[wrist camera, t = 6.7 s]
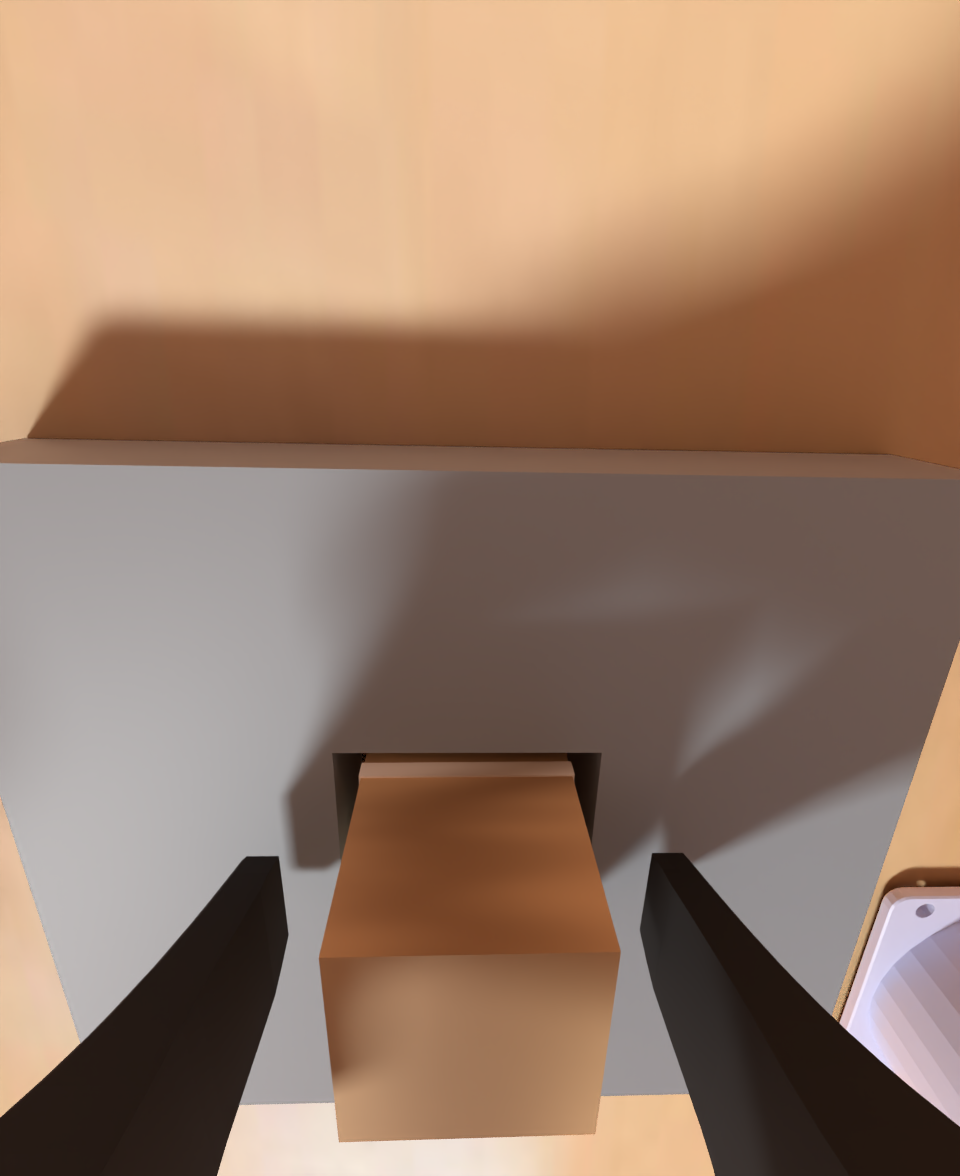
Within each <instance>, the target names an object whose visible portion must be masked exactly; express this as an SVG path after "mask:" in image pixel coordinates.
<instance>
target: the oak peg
mask: <svg viewBox="0 0 960 1176" xmlns="http://www.w3.org/2000/svg"><path fill="white" fill-rule="evenodd" d="M574 777H575V774H574V770H573V767H572V763H571V761H568V758H567V755H566V753H367V754H366V758H365V762H364V763H362V764H361V768H360V772H359V788H358V792H357V796H356V801H355V805H354V809H353V813H352V818H351V822H350V826H349V831H348V835H347V839H346V843H345V848H344V852H343V856H342V860H341V865H340V869H339V873H338V877H337V882H336V886H335V890H334V894H333V899H332V903H331V907H330V912H329V916H328V920H327V924H326V929H325V933H324V937H323V941H322V946H321V950H320V954H319V966H320V975H321V984H322V993H323V1002H324V1011H325V1020H326V1029H327V1038H328V1047H329V1056H330V1065H331V1074H332V1083H333V1092H334V1101H335V1110H336V1119H337V1128H338V1137H339V1142H359V1141H391V1140H423V1139H455V1138H487V1137H519V1136H551V1135H583V1134H595V1132H596V1125H597V1118H598V1111H599V1104H600V1096H601V1089H602V1082H603V1075H604V1068H605V1061H606V1054H607V1047H608V1040H609V1033H610V1026H611V1019H612V1012H613V1005H614V998H615V991H616V984H617V976H618V969H619V962H620V955H621V950H620V947H619V943H618V939H617V936H616V932H615V929H614V925H613V921H612V918H611V914H610V910H609V907H608V903H607V900H606V896H605V892H604V889H603V885H602V881H601V878H600V874H599V871H598V867H597V863H596V860H595V856H594V852H593V849H592V845H591V842H590V838H589V834H588V831H587V827H586V823H585V820H584V816H583V813H582V809H581V805H580V802H579V798H578V794H577V791H576V787H575V784H574Z"/></svg>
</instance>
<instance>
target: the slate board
mask: <svg viewBox="0 0 960 1176" xmlns="http://www.w3.org/2000/svg"><path fill="white" fill-rule="evenodd" d="M959 641H960V469H957V468H953V467H948V466H943V465H939V464H934V463H929V462H924V461H920V460H915V459H910V458H905V457H901V456H896V455H891V454H837V453H783V452H729V451H676V450H622V449H568V448H514V447H461V446H407V445H353V444H299V443H246V442H192V441H138V440H84V439H31V438H24V439H18V440H12V441H6V442H1V443H0V797H1V800H2V803H3V806H4V809H5V812H6V815H7V818H8V821H9V824H10V828H11V831H12V834H13V837H14V840H15V843H16V846H17V849H18V852H19V855H20V858H21V861H22V864H23V868H24V871H25V874H26V877H27V880H28V883H29V886H30V889H31V892H32V895H33V898H34V901H35V904H36V908H37V911H38V914H39V917H40V920H41V923H42V926H43V929H44V932H45V935H46V938H47V941H48V944H49V948H50V951H51V954H52V957H53V960H54V963H55V966H56V969H57V972H58V975H59V978H60V981H61V984H62V988H63V991H64V994H65V997H66V1000H67V1003H68V1006H69V1009H70V1012H71V1015H72V1018H73V1021H74V1024H75V1028H76V1031H77V1034H78V1037H79V1040H80V1043H81V1042H82V1041H83V1040H84V1039H85V1038H86V1037H88V1036H89V1035H90V1034H91V1033H92V1032H93V1031H94V1029H95V1028H96V1027H97V1026H98V1025H99V1024H100V1023H101V1022H102V1021H103V1020H104V1019H105V1018H106V1017H107V1016H108V1015H109V1014H110V1013H111V1012H112V1011H113V1010H114V1009H115V1008H116V1007H117V1006H118V1005H119V1004H120V1003H121V1001H122V1000H123V999H124V998H125V997H126V996H127V995H128V994H129V993H130V992H131V991H132V990H133V989H134V987H135V986H136V985H137V984H138V983H139V982H140V981H141V980H142V979H143V978H144V977H145V976H146V975H147V974H148V972H149V971H150V970H151V969H152V968H153V967H154V966H155V965H156V964H157V962H158V961H159V960H160V959H161V958H162V957H163V956H164V954H165V953H166V952H167V951H168V950H169V949H170V947H171V946H172V945H173V944H174V943H175V942H176V940H177V939H178V938H179V937H180V936H181V935H182V933H183V932H184V931H185V930H186V929H187V928H188V926H189V925H190V924H191V923H192V922H193V921H194V919H195V918H196V917H197V916H198V914H199V913H200V912H201V911H202V910H203V908H204V907H205V906H206V905H207V904H208V902H209V901H210V900H211V899H212V897H213V896H214V895H215V894H216V892H217V891H218V890H219V889H220V887H221V886H222V885H223V884H224V882H225V881H226V880H227V879H228V877H229V876H230V875H231V873H232V872H233V871H234V870H235V868H236V867H237V866H238V865H239V863H240V862H241V861H242V860H243V859H244V858H245V857H246V856H279V861H280V869H281V877H282V885H283V893H284V901H285V909H286V917H287V925H288V933H289V936H288V940H287V945H286V950H285V955H284V959H283V964H282V968H281V973H280V977H279V981H278V986H277V990H276V994H275V998H274V1001H273V1004H272V1007H271V1010H270V1013H269V1016H268V1019H267V1022H266V1025H265V1028H264V1032H263V1035H262V1038H261V1041H260V1044H259V1047H258V1050H257V1053H256V1056H255V1059H254V1062H253V1065H252V1068H251V1071H250V1074H249V1077H248V1080H247V1083H246V1086H245V1089H244V1092H243V1095H242V1098H241V1101H240V1104H239V1105H254V1104H295V1103H335V1101H334V1092H333V1083H332V1074H331V1065H330V1056H329V1047H328V1038H327V1029H326V1020H325V1011H324V1002H323V993H322V984H321V975H320V966H319V954H320V950H321V946H322V941H323V937H324V933H325V929H326V924H327V920H328V916H329V912H330V907H331V903H332V899H333V894H334V890H335V886H336V882H337V877H338V873H339V869H340V865H341V860H342V856H343V852H344V848H345V843H346V839H347V835H348V831H349V826H350V822H351V818H352V813H353V809H354V805H355V801H356V796H357V792H358V788H359V772H360V768H361V764H362V753H567V758H568V761H571V763H572V767H573V770H574V774H575V777H574V784H575V787H576V791H577V794H578V798H579V802H580V805H581V809H582V813H583V816H584V820H585V823H586V827H587V831H588V834H589V838H590V842H591V845H592V849H593V852H594V856H595V860H596V863H597V867H598V871H599V874H600V878H601V881H602V885H603V889H604V892H605V896H606V900H607V903H608V907H609V910H610V914H611V918H612V921H613V925H614V929H615V932H616V936H617V939H618V943H619V947H620V950H621V955H620V962H619V969H618V976H617V984H616V991H615V998H614V1005H613V1012H612V1019H611V1026H610V1033H609V1040H608V1047H607V1054H606V1061H605V1068H604V1075H603V1082H602V1089H601V1096H624V1095H665V1094H689V1092H688V1089H687V1086H686V1083H685V1080H684V1077H683V1074H682V1072H681V1069H680V1066H679V1063H678V1060H677V1057H676V1054H675V1051H674V1048H673V1046H672V1043H671V1040H670V1037H669V1034H668V1031H667V1028H666V1025H665V1022H664V1019H663V1016H662V1013H661V1010H660V1008H659V1005H658V1002H657V999H656V996H655V993H654V990H653V986H652V982H651V978H650V974H649V969H648V965H647V961H646V957H645V952H644V948H643V943H642V939H641V934H640V924H641V918H642V912H643V905H644V899H645V893H646V887H647V881H648V874H649V868H650V862H651V856H652V853H684V855H685V856H686V857H687V858H688V859H689V860H690V861H691V862H692V864H693V865H694V866H695V867H696V868H697V870H698V871H699V872H700V873H701V874H702V875H703V877H704V878H705V879H706V880H707V881H708V883H709V884H710V885H711V886H712V887H713V889H714V890H715V891H716V892H717V893H718V894H719V896H720V897H721V898H722V899H723V900H724V902H725V903H726V904H727V905H728V906H729V907H730V908H731V910H732V911H733V912H734V913H735V914H736V915H737V917H738V918H739V919H740V920H741V921H742V922H743V923H744V925H745V926H746V927H747V928H748V929H749V930H750V931H751V932H752V933H753V935H754V936H755V937H756V938H757V939H758V940H759V941H760V942H761V943H762V944H763V946H764V947H765V948H766V949H767V950H768V951H769V952H770V953H771V954H772V955H773V957H774V958H775V959H776V960H777V961H778V962H779V963H780V964H781V965H782V966H783V967H784V968H785V969H786V970H787V971H788V973H789V974H790V975H791V976H792V977H793V978H794V979H795V980H796V981H797V982H798V983H799V984H800V985H801V986H802V987H803V988H804V989H805V990H806V991H807V992H808V993H809V994H810V995H811V996H812V997H813V998H814V999H815V1000H816V1001H817V1002H818V1003H819V1004H820V1005H821V1006H822V1007H823V1008H824V1009H825V1010H826V1011H827V1012H828V1013H829V1014H830V1015H831V1016H832V1013H833V1010H834V1007H835V1004H836V1001H837V998H838V995H839V992H840V989H841V986H842V983H843V980H844V978H845V975H846V972H847V969H848V966H849V963H850V960H851V957H852V954H853V951H854V948H855V945H856V942H857V939H858V937H859V934H860V931H861V928H862V925H863V922H864V919H865V916H866V913H867V910H868V907H869V904H870V901H871V898H872V896H873V893H874V890H875V887H876V884H877V881H878V878H879V875H880V872H881V869H882V866H883V863H884V860H885V857H886V855H887V852H888V849H889V846H890V843H891V840H892V837H893V834H894V831H895V828H896V825H897V822H898V819H899V816H900V813H901V811H902V808H903V805H904V802H905V799H906V796H907V793H908V790H909V787H910V784H911V781H912V778H913V775H914V772H915V770H916V767H917V764H918V761H919V758H920V755H921V752H922V749H923V746H924V743H925V740H926V737H927V734H928V731H929V729H930V726H931V723H932V720H933V717H934V714H935V711H936V708H937V705H938V702H939V699H940V696H941V693H942V690H943V688H944V685H945V682H946V679H947V676H948V673H949V670H950V667H951V664H952V661H953V658H954V655H955V652H956V649H957V647H958V644H959Z"/></svg>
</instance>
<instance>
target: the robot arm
mask: <svg viewBox="0 0 960 1176" xmlns="http://www.w3.org/2000/svg"><path fill="white" fill-rule="evenodd" d="M640 934H641V939H642V943H643V948H644V952H645V957H646V961H647V965H648V969H649V974H650V978H651V982H652V986H653V990H654V993H655V996H656V999H657V1002H658V1005H659V1008H660V1010H661V1013H662V1016H663V1019H664V1022H665V1025H666V1028H667V1031H668V1034H669V1037H670V1040H671V1043H672V1046H673V1048H674V1051H675V1054H676V1057H677V1060H678V1063H679V1066H680V1069H681V1072H682V1074H683V1077H684V1080H685V1083H686V1086H687V1089H688V1092H689V1095H690V1098H691V1100H692V1103H693V1106H694V1109H695V1112H696V1115H697V1118H698V1121H699V1124H700V1126H701V1129H702V1133H703V1136H704V1139H705V1142H706V1145H707V1149H708V1152H709V1155H710V1158H711V1162H712V1165H713V1169H714V1173H715V1176H960V887H901V888H895V889H893V890H891V891H889V892H888V893H887V894H886V895H885V896H884V898H883V900H882V903H881V906H880V909H879V911H878V914H877V917H876V920H875V923H874V926H873V929H872V931H871V934H870V937H869V940H868V943H867V946H866V949H865V951H864V954H863V957H862V960H861V963H860V966H859V969H858V971H857V974H856V977H855V980H854V983H853V986H852V988H851V991H850V994H849V997H848V1000H847V1003H846V1006H845V1008H844V1011H843V1014H842V1017H841V1020H840V1023H838V1022H837V1021H836V1020H835V1019H834V1018H833V1017H832V1016H831V1015H830V1014H829V1013H828V1012H827V1011H826V1010H825V1009H824V1008H823V1007H822V1006H821V1005H820V1004H819V1003H818V1002H817V1001H816V1000H815V999H814V998H813V997H812V996H811V995H810V994H809V993H808V992H807V991H806V990H805V989H804V988H803V987H802V986H801V985H800V984H799V983H798V982H797V981H796V980H795V979H794V978H793V977H792V976H791V975H790V974H789V973H788V971H787V970H786V969H785V968H784V967H783V966H782V965H781V964H780V963H779V962H778V961H777V960H776V959H775V958H774V957H773V955H772V954H771V953H770V952H769V951H768V950H767V949H766V948H765V947H764V946H763V944H762V943H761V942H760V941H759V940H758V939H757V938H756V937H755V936H754V935H753V933H752V932H751V931H750V930H749V929H748V928H747V927H746V926H745V925H744V923H743V922H742V921H741V920H740V919H739V918H738V917H737V915H736V914H735V913H734V912H733V911H732V910H731V908H730V907H729V906H728V905H727V904H726V903H725V902H724V900H723V899H722V898H721V897H720V896H719V894H718V893H717V892H716V891H715V890H714V889H713V887H712V886H711V885H710V884H709V883H708V881H707V880H706V879H705V878H704V877H703V875H702V874H701V873H700V872H699V871H698V870H697V868H696V867H695V866H694V865H693V864H692V862H691V861H690V860H689V859H688V858H687V857H686V856H685V855H684V853H652V856H651V862H650V868H649V874H648V881H647V887H646V893H645V899H644V905H643V912H642V918H641V924H640ZM288 936H289V933H288V925H287V917H286V909H285V901H284V893H283V885H282V877H281V869H280V861H279V856H246V857H245V858H244V859H243V860H242V861H241V862H240V863H239V865H238V866H237V867H236V868H235V870H234V871H233V872H232V873H231V875H230V876H229V877H228V879H227V880H226V881H225V882H224V884H223V885H222V886H221V887H220V889H219V890H218V891H217V892H216V894H215V895H214V896H213V897H212V899H211V900H210V901H209V902H208V904H207V905H206V906H205V907H204V908H203V910H202V911H201V912H200V913H199V914H198V916H197V917H196V918H195V919H194V921H193V922H192V923H191V924H190V925H189V926H188V928H187V929H186V930H185V931H184V932H183V933H182V935H181V936H180V937H179V938H178V939H177V940H176V942H175V943H174V944H173V945H172V946H171V947H170V949H169V950H168V951H167V952H166V953H165V954H164V956H163V957H162V958H161V959H160V960H159V961H158V962H157V964H156V965H155V966H154V967H153V968H152V969H151V970H150V971H149V972H148V974H147V975H146V976H145V977H144V978H143V979H142V980H141V981H140V982H139V983H138V984H137V985H136V986H135V987H134V989H133V990H132V991H131V992H130V993H129V994H128V995H127V996H126V997H125V998H124V999H123V1000H122V1001H121V1003H120V1004H119V1005H118V1006H117V1007H116V1008H115V1009H114V1010H113V1011H112V1012H111V1013H110V1014H109V1015H108V1016H107V1017H106V1018H105V1019H104V1020H103V1021H102V1022H101V1023H100V1024H99V1025H98V1026H97V1027H96V1028H95V1029H94V1031H93V1032H92V1033H91V1034H90V1035H89V1036H88V1037H86V1038H85V1039H84V1040H83V1041H82V1042H81V1043H80V1044H79V1045H78V1046H77V1047H76V1048H75V1049H74V1050H73V1051H72V1052H71V1053H70V1054H69V1055H68V1056H67V1057H66V1058H65V1059H64V1060H63V1061H62V1062H61V1063H60V1064H59V1065H58V1066H57V1067H55V1068H54V1069H53V1070H52V1071H51V1072H50V1073H49V1074H48V1075H47V1076H46V1077H45V1078H44V1079H43V1080H42V1081H40V1082H39V1083H38V1084H37V1085H36V1086H35V1087H34V1088H33V1089H32V1090H30V1091H29V1092H28V1093H27V1094H26V1095H25V1096H24V1097H23V1098H22V1099H20V1100H19V1101H18V1102H17V1103H16V1104H15V1105H14V1106H13V1107H12V1108H10V1109H9V1110H8V1111H7V1112H6V1113H5V1114H4V1115H3V1116H2V1117H0V1176H217V1173H218V1170H219V1167H220V1163H221V1160H222V1157H223V1153H224V1150H225V1147H226V1143H227V1140H228V1137H229V1134H230V1131H231V1128H232V1125H233V1122H234V1119H235V1116H236V1113H237V1110H238V1107H239V1104H240V1101H241V1098H242V1095H243V1092H244V1089H245V1086H246V1083H247V1080H248V1077H249V1074H250V1071H251V1068H252V1065H253V1062H254V1059H255V1056H256V1053H257V1050H258V1047H259V1044H260V1041H261V1038H262V1035H263V1032H264V1028H265V1025H266V1022H267V1019H268V1016H269V1013H270V1010H271V1007H272V1004H273V1001H274V998H275V994H276V990H277V986H278V981H279V977H280V973H281V968H282V964H283V959H284V955H285V950H286V945H287V940H288Z"/></svg>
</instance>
